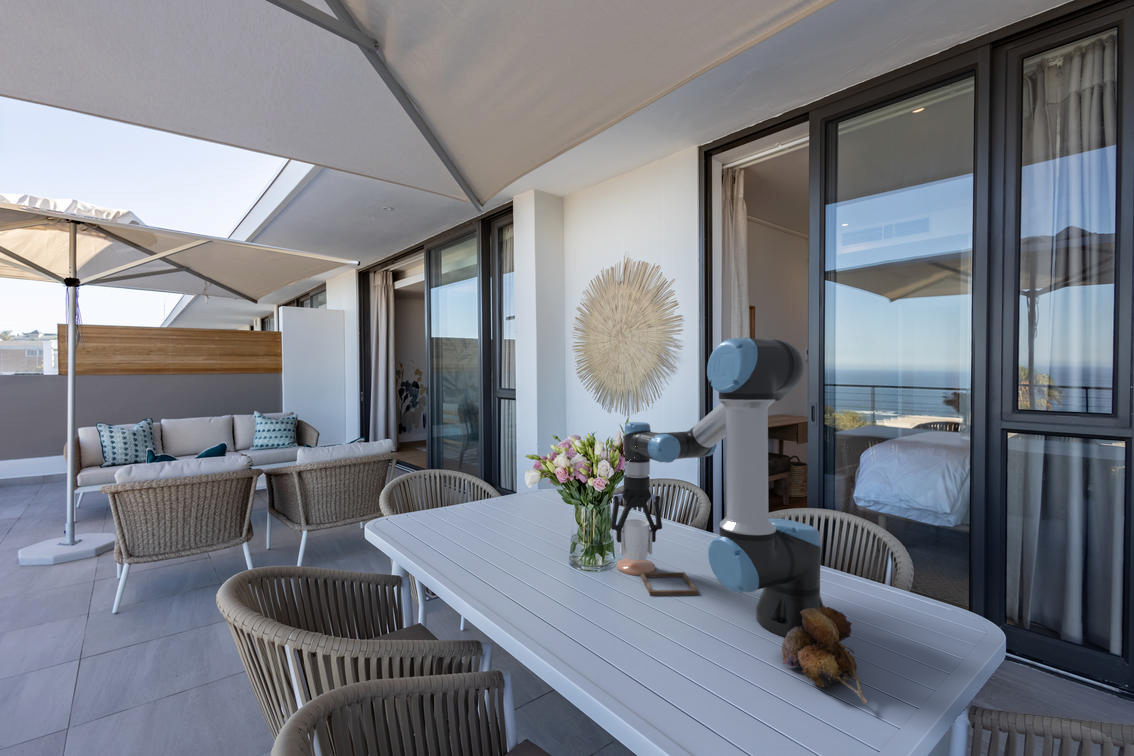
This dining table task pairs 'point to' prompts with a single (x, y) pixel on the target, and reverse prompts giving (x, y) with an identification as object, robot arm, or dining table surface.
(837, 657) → the seed pod
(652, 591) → the walnut tray frame
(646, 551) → the white cup
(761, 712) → the dining table surface
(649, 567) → the peach flat disc
